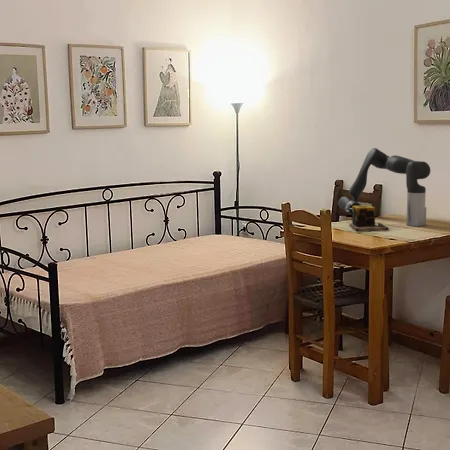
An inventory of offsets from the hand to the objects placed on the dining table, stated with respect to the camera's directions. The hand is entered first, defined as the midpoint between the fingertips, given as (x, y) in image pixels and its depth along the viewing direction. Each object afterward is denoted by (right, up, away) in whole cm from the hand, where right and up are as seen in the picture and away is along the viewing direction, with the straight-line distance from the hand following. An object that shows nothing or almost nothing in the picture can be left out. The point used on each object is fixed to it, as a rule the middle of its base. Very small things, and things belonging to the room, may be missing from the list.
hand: (361, 212), depth 373 cm
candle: (0, -7, -4) cm, 8 cm away
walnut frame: (+1, -8, -14) cm, 16 cm away
